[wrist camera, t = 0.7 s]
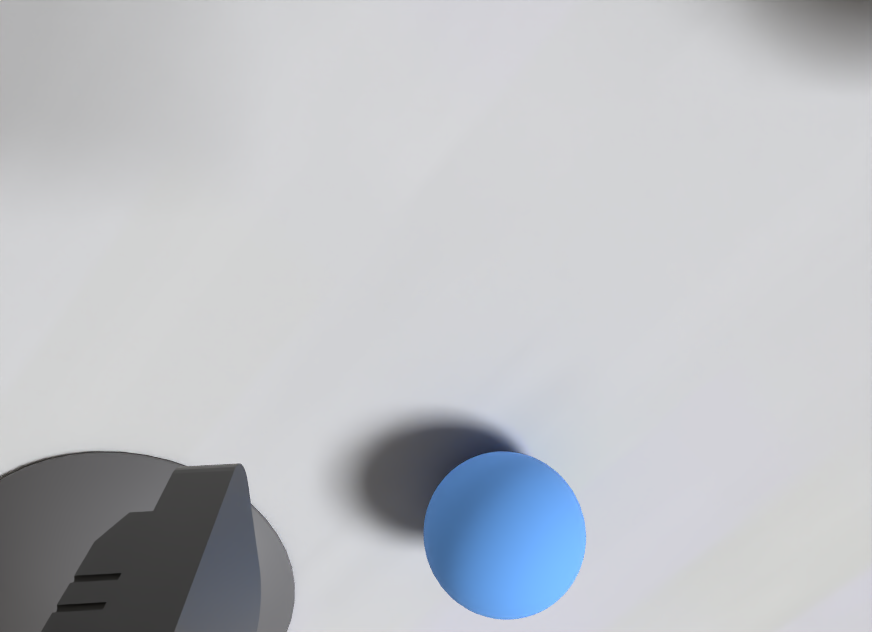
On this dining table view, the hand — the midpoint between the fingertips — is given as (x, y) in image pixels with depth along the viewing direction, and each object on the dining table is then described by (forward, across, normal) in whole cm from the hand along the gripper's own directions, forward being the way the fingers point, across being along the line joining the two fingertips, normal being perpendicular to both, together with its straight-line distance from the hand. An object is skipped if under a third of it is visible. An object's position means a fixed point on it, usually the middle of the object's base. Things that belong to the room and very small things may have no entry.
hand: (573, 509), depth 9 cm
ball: (+16, -1, +12) cm, 20 cm away
